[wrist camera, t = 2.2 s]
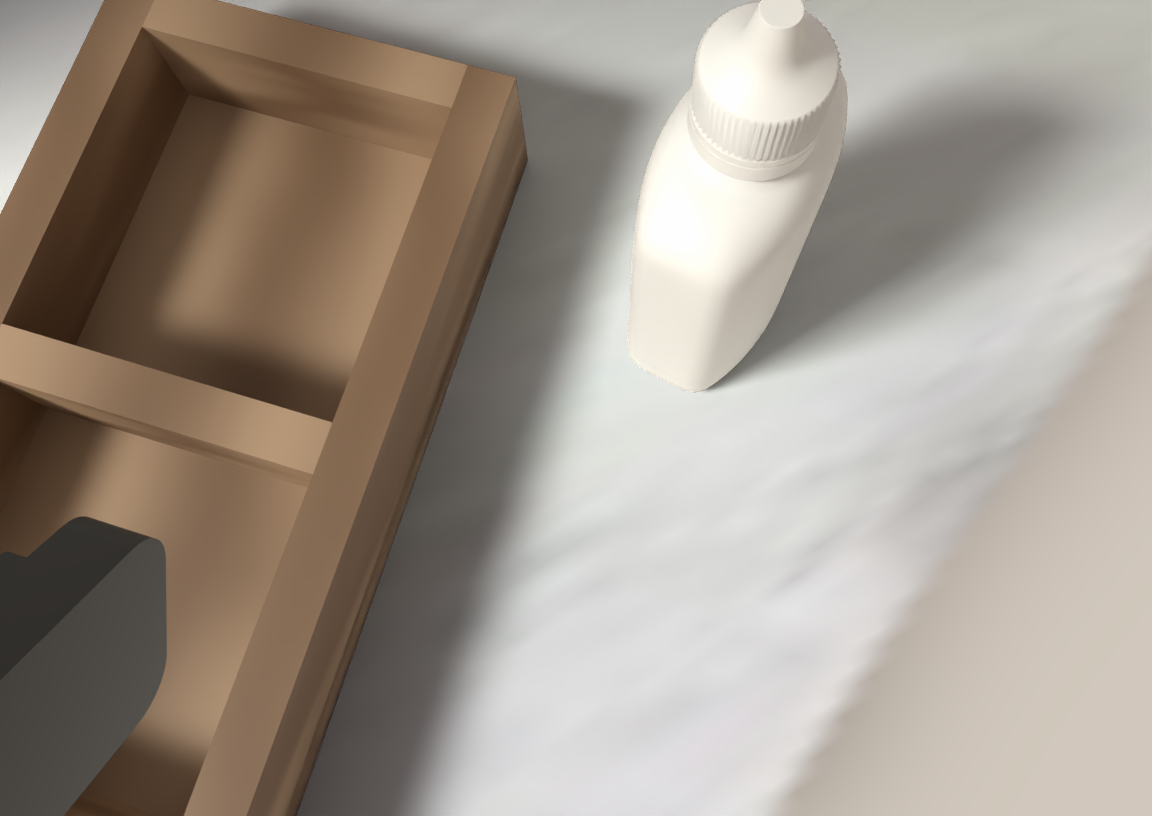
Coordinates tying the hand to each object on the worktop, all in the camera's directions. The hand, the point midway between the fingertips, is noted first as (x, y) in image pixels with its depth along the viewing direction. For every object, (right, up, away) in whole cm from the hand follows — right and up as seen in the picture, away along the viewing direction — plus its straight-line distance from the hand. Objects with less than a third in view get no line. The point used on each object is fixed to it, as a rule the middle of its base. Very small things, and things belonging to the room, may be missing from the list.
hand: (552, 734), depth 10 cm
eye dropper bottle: (+4, +6, +18) cm, 20 cm away
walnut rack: (-10, -2, +16) cm, 19 cm away
